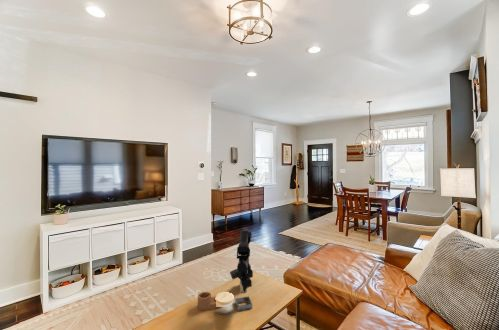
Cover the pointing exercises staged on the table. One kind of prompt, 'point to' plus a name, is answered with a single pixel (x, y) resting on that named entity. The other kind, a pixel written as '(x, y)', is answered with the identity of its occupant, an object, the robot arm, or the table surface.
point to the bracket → (206, 301)
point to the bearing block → (243, 307)
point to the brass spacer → (242, 289)
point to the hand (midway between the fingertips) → (243, 289)
